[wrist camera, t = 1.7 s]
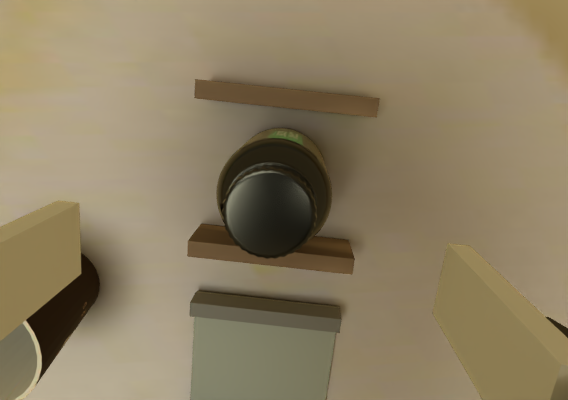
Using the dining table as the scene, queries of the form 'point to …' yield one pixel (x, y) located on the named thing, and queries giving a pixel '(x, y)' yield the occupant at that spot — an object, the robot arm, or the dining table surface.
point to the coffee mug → (45, 334)
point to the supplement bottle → (274, 193)
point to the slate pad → (261, 348)
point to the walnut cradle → (318, 249)
